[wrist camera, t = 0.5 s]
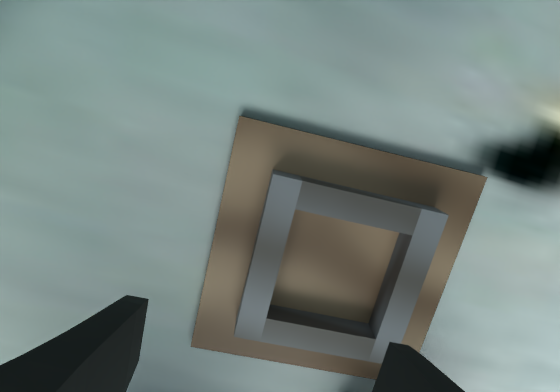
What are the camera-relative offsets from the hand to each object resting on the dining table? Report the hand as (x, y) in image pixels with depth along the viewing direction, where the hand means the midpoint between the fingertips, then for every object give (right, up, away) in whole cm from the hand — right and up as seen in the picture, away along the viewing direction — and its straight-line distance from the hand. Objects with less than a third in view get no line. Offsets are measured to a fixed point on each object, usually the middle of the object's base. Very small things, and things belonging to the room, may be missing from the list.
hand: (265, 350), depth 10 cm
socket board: (+3, +1, +10) cm, 11 cm away
